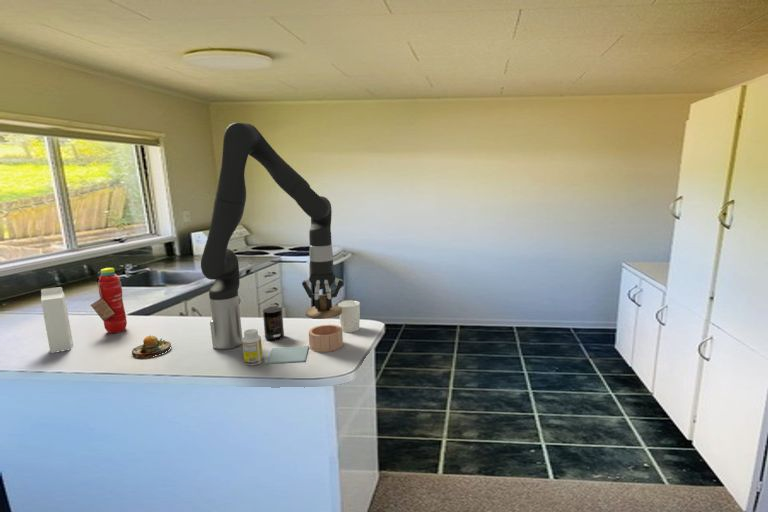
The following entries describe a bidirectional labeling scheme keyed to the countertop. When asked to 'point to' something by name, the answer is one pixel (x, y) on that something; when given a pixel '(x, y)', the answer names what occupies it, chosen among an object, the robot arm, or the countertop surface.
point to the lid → (323, 310)
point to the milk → (56, 319)
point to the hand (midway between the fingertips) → (323, 309)
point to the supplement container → (273, 323)
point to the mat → (287, 355)
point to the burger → (151, 347)
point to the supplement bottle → (252, 347)
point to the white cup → (350, 316)
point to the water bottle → (110, 302)
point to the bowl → (325, 338)
